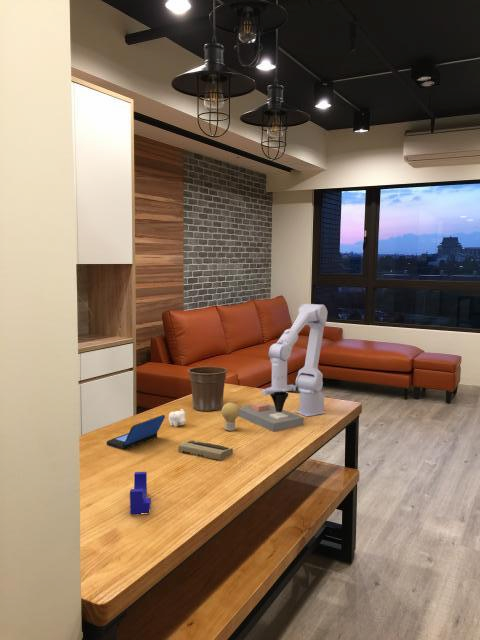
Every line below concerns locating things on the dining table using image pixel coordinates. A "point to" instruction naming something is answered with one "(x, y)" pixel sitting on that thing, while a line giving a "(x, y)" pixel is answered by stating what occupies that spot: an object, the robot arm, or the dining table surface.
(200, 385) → the plant pot
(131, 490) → the blue stepped block
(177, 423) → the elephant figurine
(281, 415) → the white key
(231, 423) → the light bulb
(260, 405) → the terracotta key
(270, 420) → the key console
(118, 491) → the dining table surface
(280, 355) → the robot arm
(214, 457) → the computer
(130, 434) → the handheld game console
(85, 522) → the dining table surface
